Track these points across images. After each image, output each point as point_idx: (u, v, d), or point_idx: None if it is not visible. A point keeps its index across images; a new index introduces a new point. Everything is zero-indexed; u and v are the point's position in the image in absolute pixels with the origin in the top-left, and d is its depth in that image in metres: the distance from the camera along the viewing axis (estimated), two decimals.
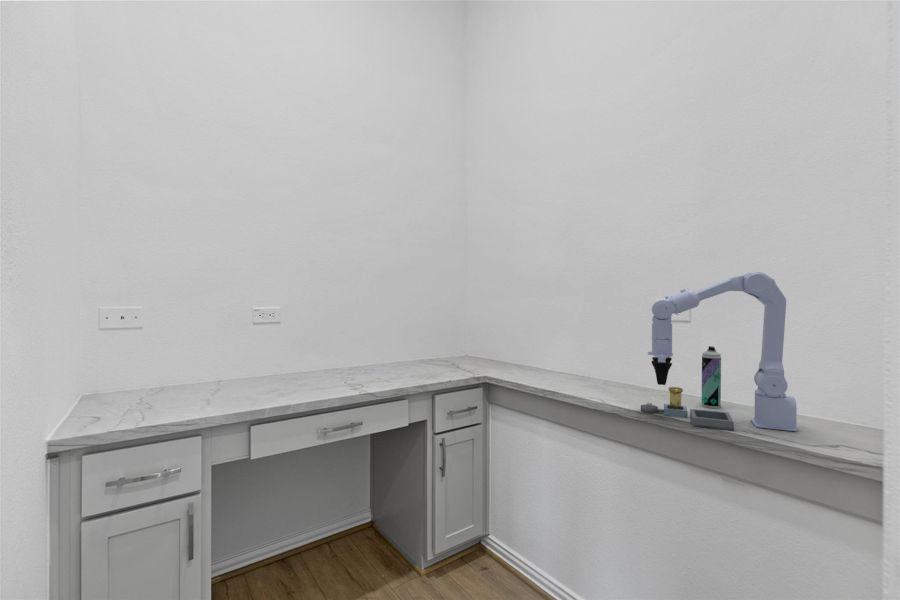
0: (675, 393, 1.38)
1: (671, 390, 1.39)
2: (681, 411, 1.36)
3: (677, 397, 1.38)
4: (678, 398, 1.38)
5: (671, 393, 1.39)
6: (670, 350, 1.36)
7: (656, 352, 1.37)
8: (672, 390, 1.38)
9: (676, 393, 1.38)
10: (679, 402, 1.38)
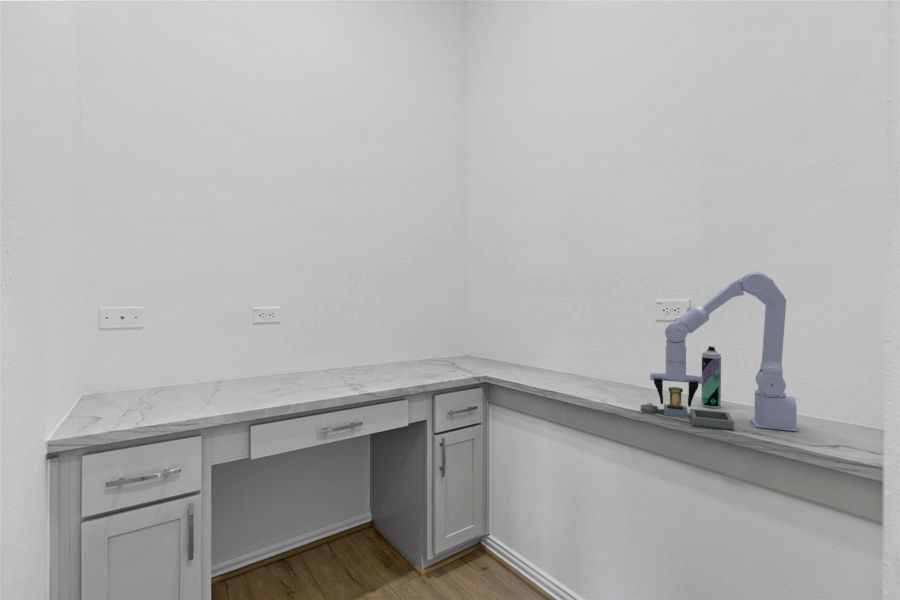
0: (675, 393, 1.38)
1: (671, 390, 1.39)
2: (681, 411, 1.36)
3: (677, 397, 1.38)
4: (678, 398, 1.38)
5: (671, 393, 1.39)
6: (670, 373, 1.38)
7: None
8: (672, 390, 1.38)
9: (676, 393, 1.38)
10: (679, 402, 1.38)
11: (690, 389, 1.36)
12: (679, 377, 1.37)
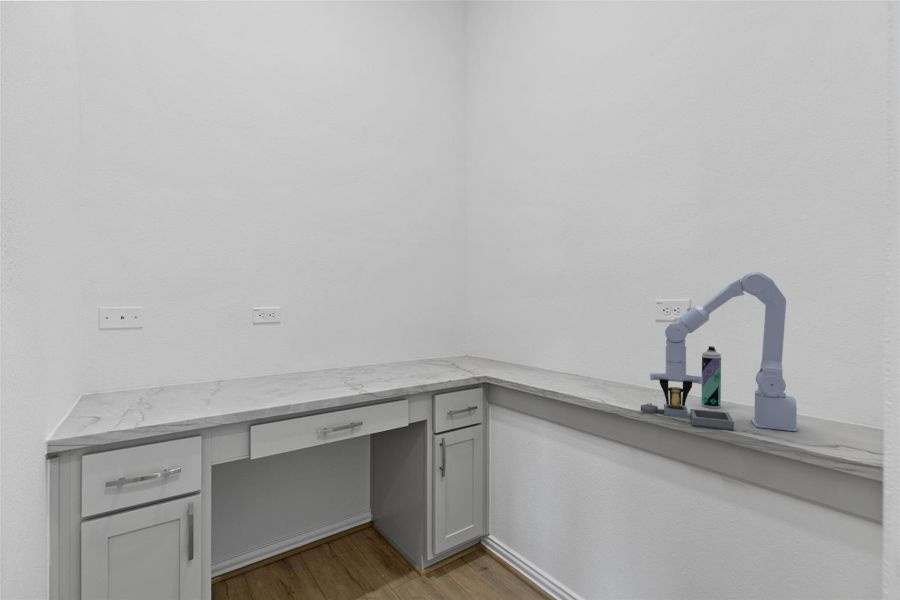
0: (675, 393, 1.38)
1: (671, 390, 1.39)
2: (681, 411, 1.36)
3: (677, 397, 1.38)
4: (678, 398, 1.38)
5: (671, 393, 1.39)
6: (670, 373, 1.38)
7: None
8: (672, 390, 1.38)
9: (676, 393, 1.38)
10: (679, 402, 1.38)
11: (684, 389, 1.37)
12: (679, 377, 1.37)
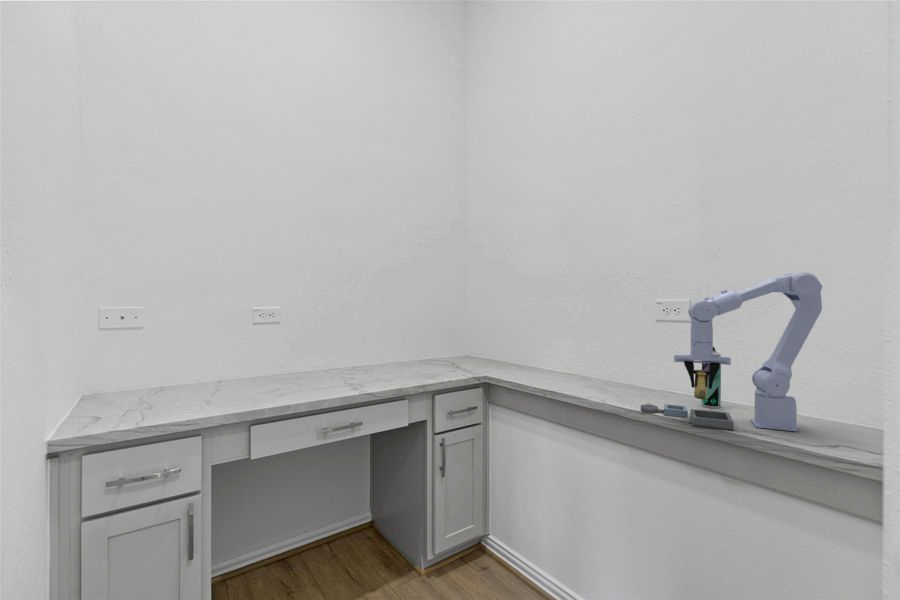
0: (701, 376, 1.31)
1: (697, 373, 1.31)
2: (681, 411, 1.36)
3: (703, 380, 1.31)
4: (704, 381, 1.31)
5: (697, 376, 1.32)
6: (696, 353, 1.30)
7: None
8: (698, 373, 1.31)
9: (702, 376, 1.31)
10: (705, 385, 1.31)
11: (711, 370, 1.29)
12: (706, 358, 1.29)
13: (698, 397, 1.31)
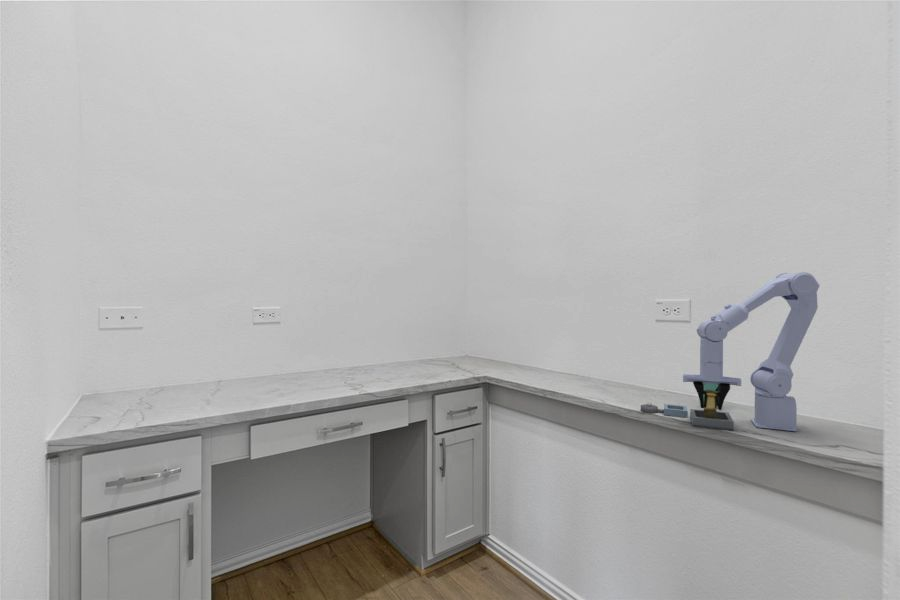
0: (711, 397, 1.28)
1: (707, 394, 1.29)
2: (681, 411, 1.36)
3: (713, 401, 1.28)
4: (714, 402, 1.28)
5: (706, 397, 1.29)
6: (706, 374, 1.28)
7: None
8: (708, 394, 1.28)
9: (712, 397, 1.28)
10: (715, 406, 1.28)
11: (721, 391, 1.26)
12: (716, 379, 1.26)
13: None
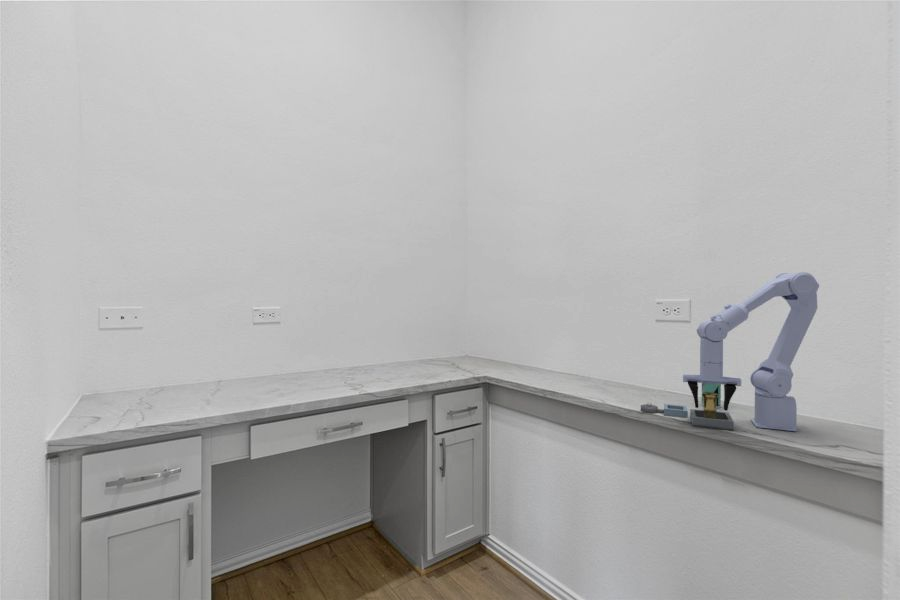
0: (710, 399, 1.28)
1: (706, 396, 1.29)
2: (681, 411, 1.36)
3: (712, 403, 1.28)
4: (714, 404, 1.28)
5: (705, 399, 1.29)
6: (706, 374, 1.28)
7: None
8: (707, 396, 1.29)
9: (711, 399, 1.28)
10: (714, 408, 1.29)
11: (727, 392, 1.26)
12: (716, 379, 1.26)
13: None
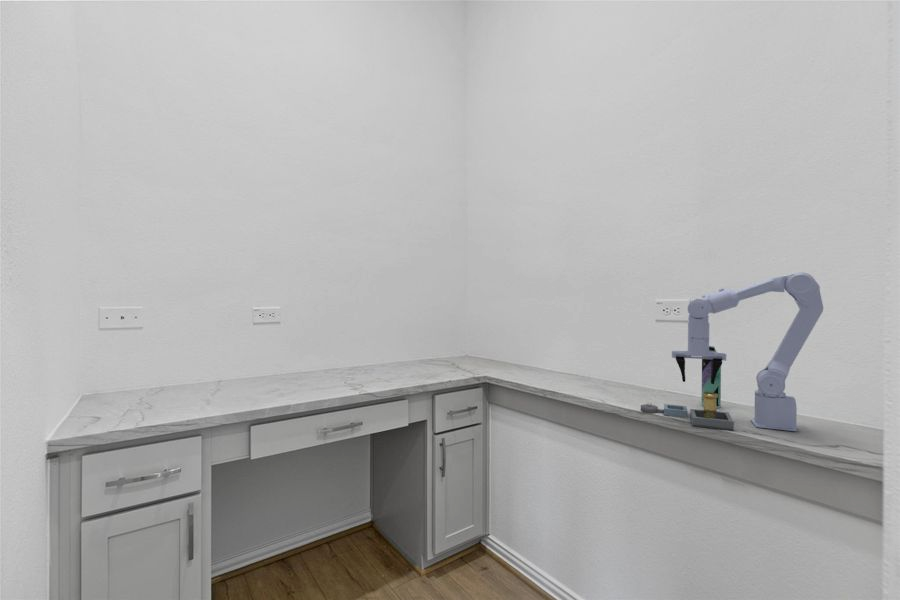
0: (710, 399, 1.28)
1: (706, 396, 1.29)
2: (681, 411, 1.36)
3: (712, 403, 1.28)
4: (714, 404, 1.28)
5: (705, 399, 1.29)
6: (693, 349, 1.35)
7: None
8: (707, 396, 1.29)
9: (711, 399, 1.28)
10: (714, 408, 1.29)
11: (714, 366, 1.33)
12: (702, 354, 1.34)
13: None
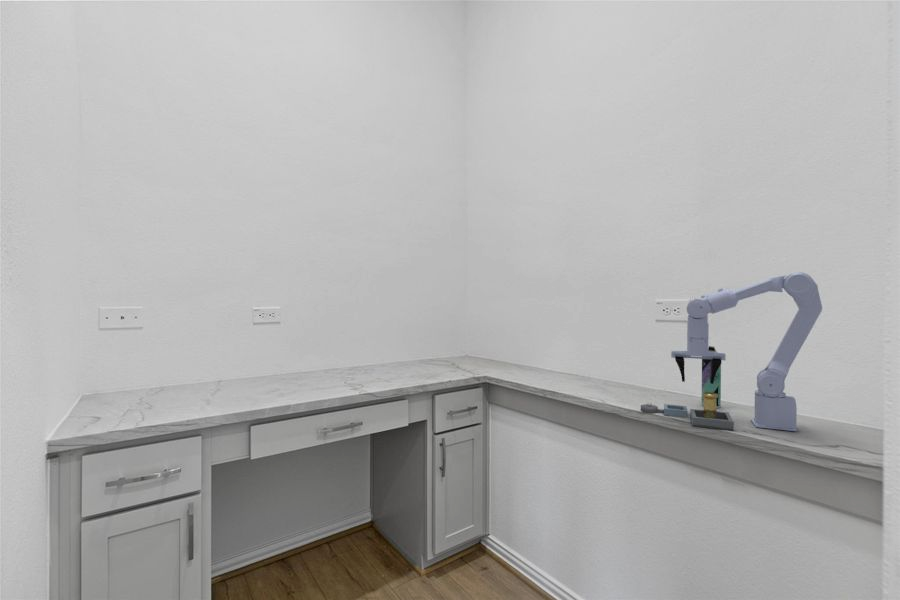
0: (710, 399, 1.28)
1: (706, 396, 1.29)
2: (681, 411, 1.36)
3: (712, 403, 1.28)
4: (714, 404, 1.28)
5: (705, 399, 1.29)
6: (692, 349, 1.36)
7: None
8: (707, 396, 1.29)
9: (711, 399, 1.28)
10: (714, 408, 1.29)
11: (713, 366, 1.34)
12: (702, 354, 1.34)
13: None
